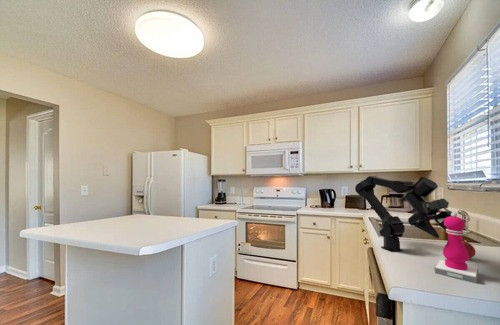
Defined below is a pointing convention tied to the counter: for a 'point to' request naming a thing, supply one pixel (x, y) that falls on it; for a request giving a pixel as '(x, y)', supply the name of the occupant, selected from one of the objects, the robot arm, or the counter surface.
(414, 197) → the robot arm
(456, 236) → the pepper mill
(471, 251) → the onion
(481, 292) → the counter surface
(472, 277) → the kitchen scale
